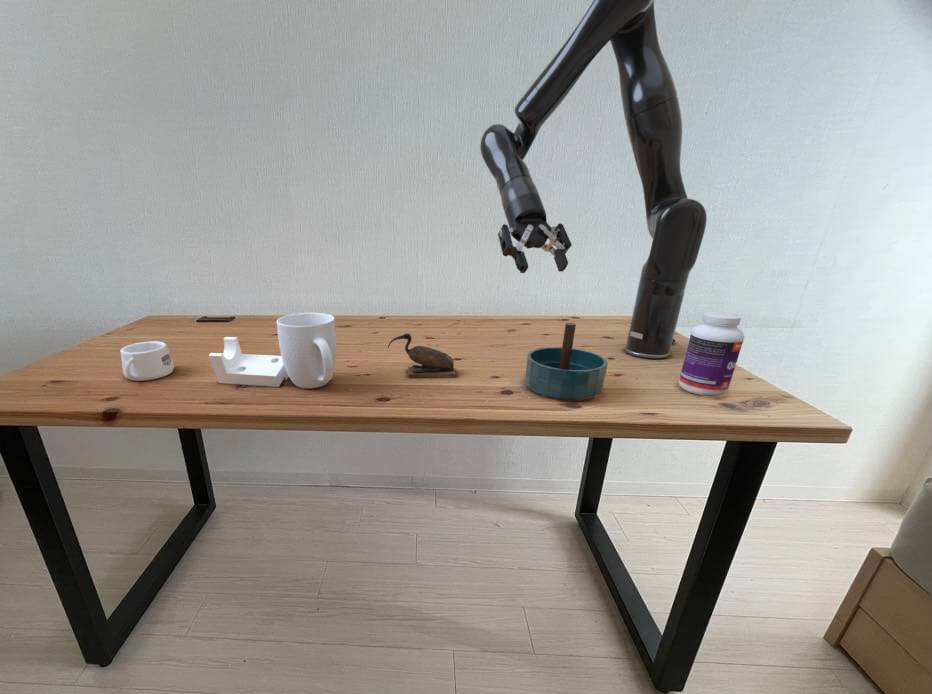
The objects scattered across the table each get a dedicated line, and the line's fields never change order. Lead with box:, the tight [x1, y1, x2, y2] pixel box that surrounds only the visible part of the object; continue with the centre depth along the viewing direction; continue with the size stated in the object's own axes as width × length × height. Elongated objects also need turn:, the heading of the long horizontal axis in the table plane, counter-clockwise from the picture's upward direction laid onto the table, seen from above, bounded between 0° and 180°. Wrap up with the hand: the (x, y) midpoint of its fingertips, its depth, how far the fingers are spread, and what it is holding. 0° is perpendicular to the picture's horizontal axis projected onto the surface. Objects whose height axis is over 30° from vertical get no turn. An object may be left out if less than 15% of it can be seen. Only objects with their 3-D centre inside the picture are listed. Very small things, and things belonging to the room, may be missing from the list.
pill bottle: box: [677, 310, 745, 397], centre depth 83 cm, size 8×8×14 cm
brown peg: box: [559, 322, 577, 370], centre depth 85 cm, size 5×5×12 cm
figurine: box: [387, 333, 456, 379], centre depth 94 cm, size 14×4×9 cm, turn 91°
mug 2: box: [276, 312, 338, 389], centre depth 88 cm, size 15×11×13 cm
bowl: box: [524, 346, 609, 401], centre depth 87 cm, size 14×14×6 cm
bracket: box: [208, 336, 289, 388], centre depth 92 cm, size 13×7×8 cm, turn 79°
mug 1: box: [120, 340, 175, 382], centre depth 95 cm, size 12×10×6 cm
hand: (544, 269), depth 90 cm, fingers open, 8 cm apart
